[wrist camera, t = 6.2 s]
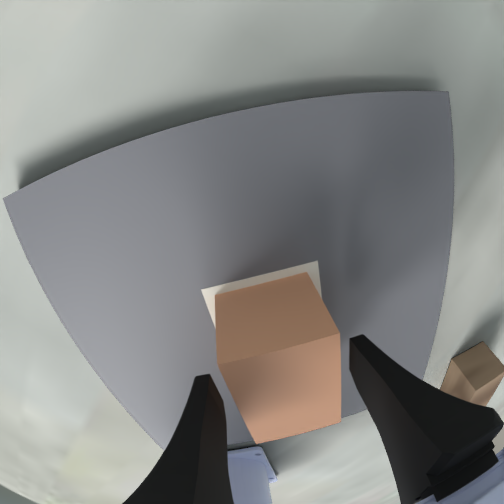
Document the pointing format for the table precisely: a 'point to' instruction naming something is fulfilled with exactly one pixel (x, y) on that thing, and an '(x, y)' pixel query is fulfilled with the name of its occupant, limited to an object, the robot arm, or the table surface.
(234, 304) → the brick terracotta
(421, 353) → the tower board
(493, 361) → the brick walnut
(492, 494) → the robot arm
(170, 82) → the table surface
